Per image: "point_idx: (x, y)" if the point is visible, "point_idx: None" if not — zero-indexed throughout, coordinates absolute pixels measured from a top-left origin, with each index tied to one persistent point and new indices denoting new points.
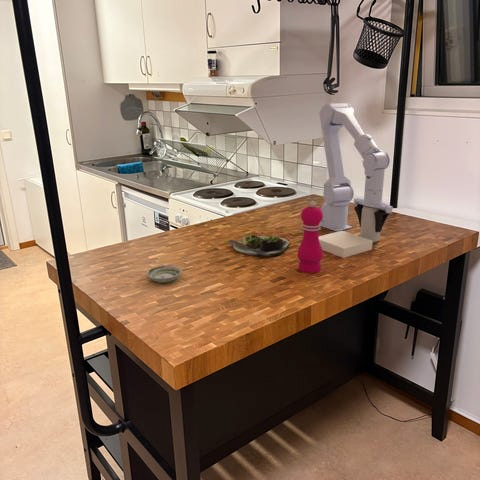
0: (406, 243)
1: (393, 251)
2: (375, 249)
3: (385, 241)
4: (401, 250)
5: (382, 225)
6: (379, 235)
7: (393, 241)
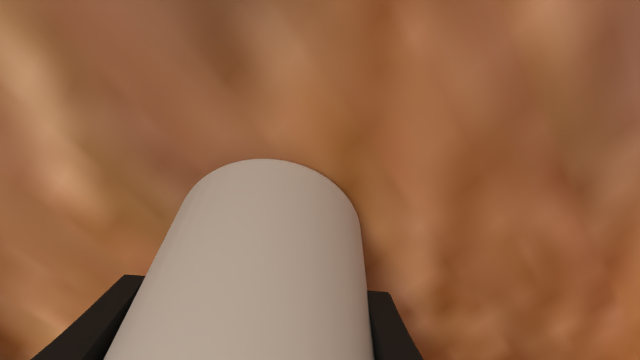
0: (605, 39)
1: (560, 293)
2: (432, 337)
3: (393, 146)
4: (612, 240)
5: (412, 356)
6: (360, 243)
7: (456, 87)
